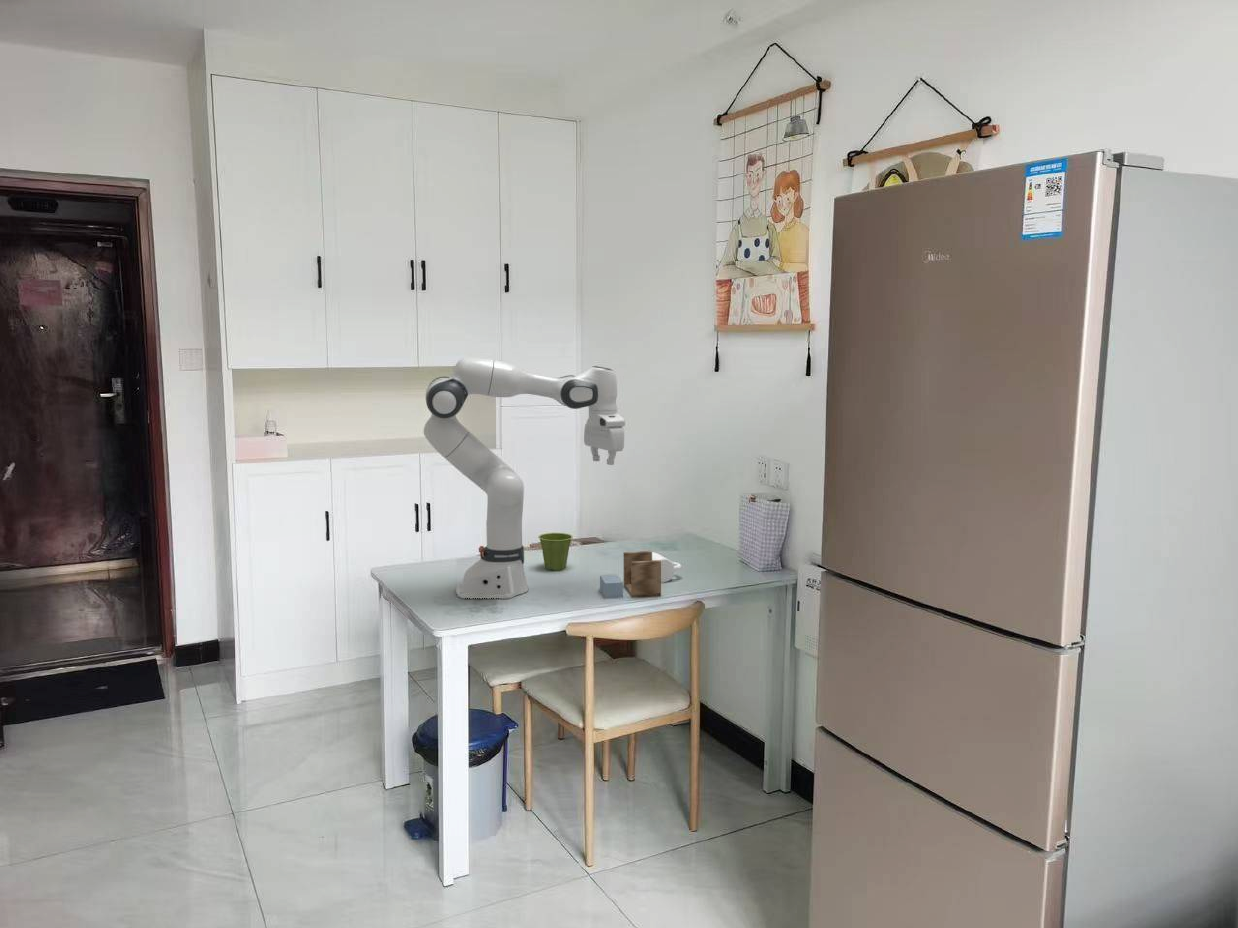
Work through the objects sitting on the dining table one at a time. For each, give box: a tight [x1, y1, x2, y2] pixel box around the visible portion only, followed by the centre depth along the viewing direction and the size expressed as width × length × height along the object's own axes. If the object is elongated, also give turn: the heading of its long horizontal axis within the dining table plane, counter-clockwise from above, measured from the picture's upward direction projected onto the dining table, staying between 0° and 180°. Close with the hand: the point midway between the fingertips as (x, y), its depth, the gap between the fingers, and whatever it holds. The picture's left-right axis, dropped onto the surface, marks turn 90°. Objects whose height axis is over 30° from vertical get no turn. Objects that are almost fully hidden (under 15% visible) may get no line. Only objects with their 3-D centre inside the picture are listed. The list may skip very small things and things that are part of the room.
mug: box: [652, 551, 682, 584], centre depth 298 cm, size 12×10×8 cm
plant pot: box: [537, 532, 574, 571], centre depth 311 cm, size 12×12×11 cm
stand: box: [623, 550, 662, 599], centre depth 283 cm, size 9×14×11 cm, turn 11°
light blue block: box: [599, 573, 624, 599], centre depth 281 cm, size 6×10×5 cm, turn 11°
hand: (603, 462), depth 283 cm, fingers open, 8 cm apart
